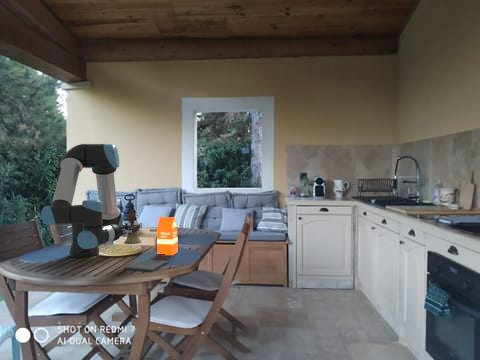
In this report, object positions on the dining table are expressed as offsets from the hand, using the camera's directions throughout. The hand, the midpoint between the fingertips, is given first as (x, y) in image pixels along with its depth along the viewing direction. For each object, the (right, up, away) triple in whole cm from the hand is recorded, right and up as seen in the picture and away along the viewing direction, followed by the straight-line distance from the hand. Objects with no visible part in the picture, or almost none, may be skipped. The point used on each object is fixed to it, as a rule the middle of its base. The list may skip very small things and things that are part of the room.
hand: (139, 225), depth 179 cm
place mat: (+6, -19, -7) cm, 21 cm away
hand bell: (-2, -8, -5) cm, 10 cm away
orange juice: (+11, -18, +18) cm, 28 cm away
